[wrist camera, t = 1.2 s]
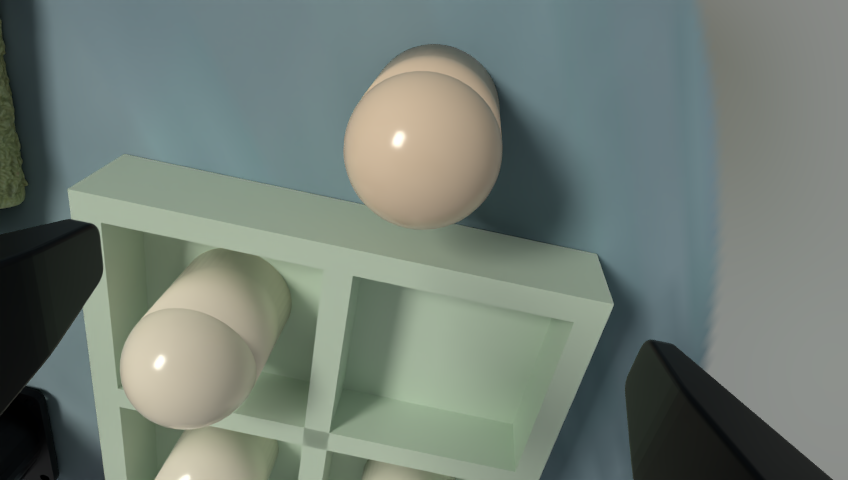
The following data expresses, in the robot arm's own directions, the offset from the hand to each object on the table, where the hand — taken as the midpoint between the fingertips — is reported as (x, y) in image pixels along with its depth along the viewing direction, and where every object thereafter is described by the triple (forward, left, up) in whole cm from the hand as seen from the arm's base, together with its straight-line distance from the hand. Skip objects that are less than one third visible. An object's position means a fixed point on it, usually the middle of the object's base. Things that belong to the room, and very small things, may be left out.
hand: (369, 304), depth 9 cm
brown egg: (0, 0, -12) cm, 12 cm away
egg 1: (-9, +6, -11) cm, 15 cm away
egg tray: (-13, +2, -12) cm, 18 cm away
